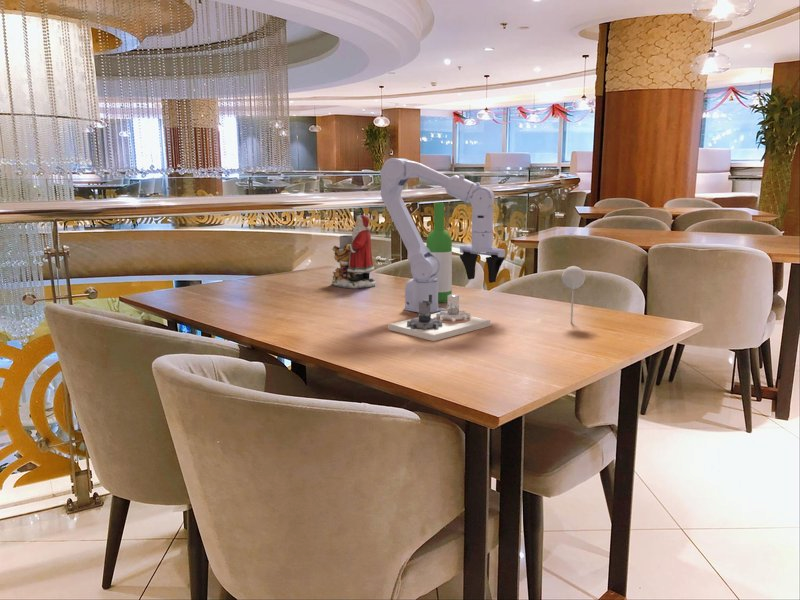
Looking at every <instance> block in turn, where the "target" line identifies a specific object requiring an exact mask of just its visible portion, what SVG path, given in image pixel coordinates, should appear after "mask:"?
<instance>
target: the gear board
mask: <svg viewBox="0 0 800 600" xmlns="http://www.w3.org/2000/svg"><path fill="white" fill-rule="evenodd" d="M436 313H437V312H433V313H431V318H433V319H434V318H436ZM438 313H440V311H438ZM414 318H415V319H417V318H419V316H418V317H414ZM411 319H412V318H410V319H409V318H408V319H405V320H401V321H395V322H392V323H388V331H391V332H397V333H400V334H404V335H408V336H412V337H416V338H420V339H424V340H428V341H432V342H436V341H440V340H442V339H443V340H444V339H446V338H450V337H454V336H459V335H461V334H465V333H466V334H467V333H469V332H472V331H473V332H474V331H476V330H481V329H484V328H488V327H491V320H490V319H486V318H485V319H484V318H480V317H476V316H471V315H470V319H467V321H455V322H452V321H442V326H439V329H427V330H423V329H411V326H407V321H411ZM438 320H439V321H440V319H438Z"/></svg>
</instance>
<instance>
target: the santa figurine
mask: <svg viewBox="0 0 800 600" xmlns="http://www.w3.org/2000/svg"><path fill="white" fill-rule="evenodd" d="M355 218H356V219H355V220H356V221H355V223H354V227H353V229H352V233H351V235H349V234H347V235H346V234H345V235H339V237H338V238H339V245H338V246H336V245H333V247H332V248H331V249H332V251H333V254H334V260H335V261H336V262H337V263H338V264H339V267H336V269H334V270H335V271H333V272H332V274H333V276H332V280H331V284H332V286H335V287H338V288H339V287H340V288H344V289H345V288H346V289H351V290H352V289H354V290H355V289H362V288H363V289H365V288H372V287H375V286H376V284H377V281H376V280H375V279H374V278H373V277H372V278H370V273H371V271H374V270H375V265H374V261H373V257H372V254H373V253H372V238H371V237H372V236H371V230H372V228H371V226H370V219H369V217H368V215H367V216H366V215H364V214H359V215H356V217H355Z"/></svg>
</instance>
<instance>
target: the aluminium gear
mask: <svg viewBox="0 0 800 600" xmlns="http://www.w3.org/2000/svg"><path fill="white" fill-rule="evenodd" d="M446 303H447V304H446V305H447V306H446V307H447V310H442V311H439V312H440V313H439V312H435V313H436V318H438V319H440V321H452V322H455V321H467V319H470V316H471V313H470V312H469V313H468V312H467V311H466V310H461V311H460V294H452V295H448V298H447V302H446Z"/></svg>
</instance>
